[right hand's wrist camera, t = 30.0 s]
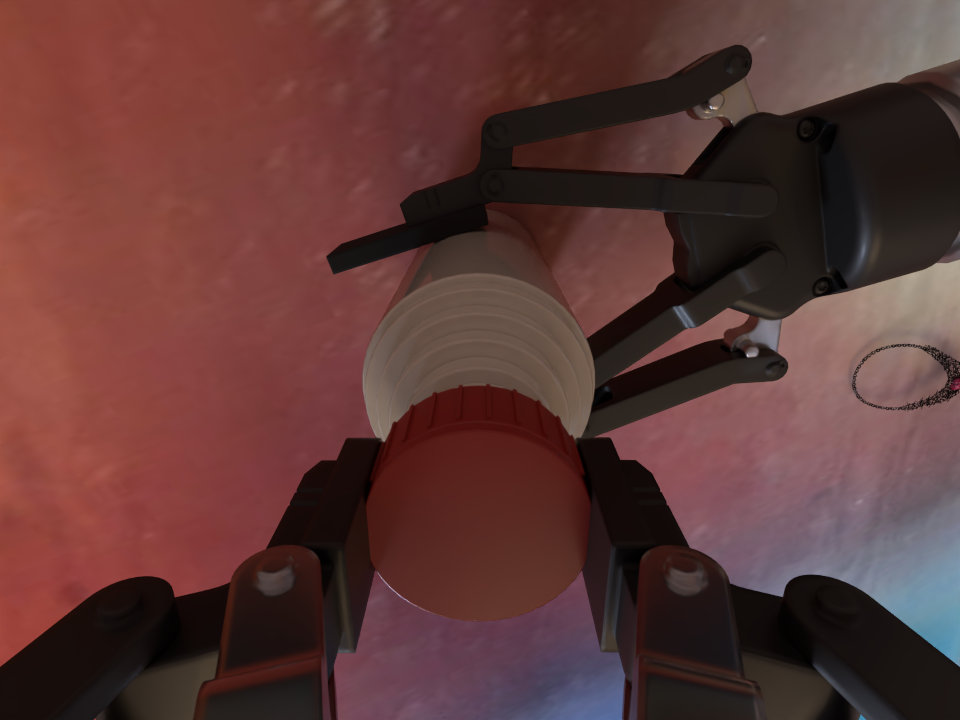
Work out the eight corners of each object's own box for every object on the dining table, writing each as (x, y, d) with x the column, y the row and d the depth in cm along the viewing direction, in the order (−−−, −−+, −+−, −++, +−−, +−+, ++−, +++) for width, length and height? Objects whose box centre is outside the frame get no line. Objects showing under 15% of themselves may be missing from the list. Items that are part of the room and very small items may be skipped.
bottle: (568, 260, 30) (724, 475, 11) (491, 356, 32) (510, 681, 13) (464, 180, 29) (435, 269, 10) (391, 286, 31) (243, 537, 12)
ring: (945, 410, 34) (958, 418, 33) (842, 405, 34) (853, 413, 33) (971, 345, 32) (986, 351, 31) (864, 340, 32) (875, 346, 31)
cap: (621, 442, 12) (647, 497, 10) (512, 584, 14) (518, 654, 12) (438, 343, 11) (430, 384, 9) (343, 505, 13) (319, 568, 11)
